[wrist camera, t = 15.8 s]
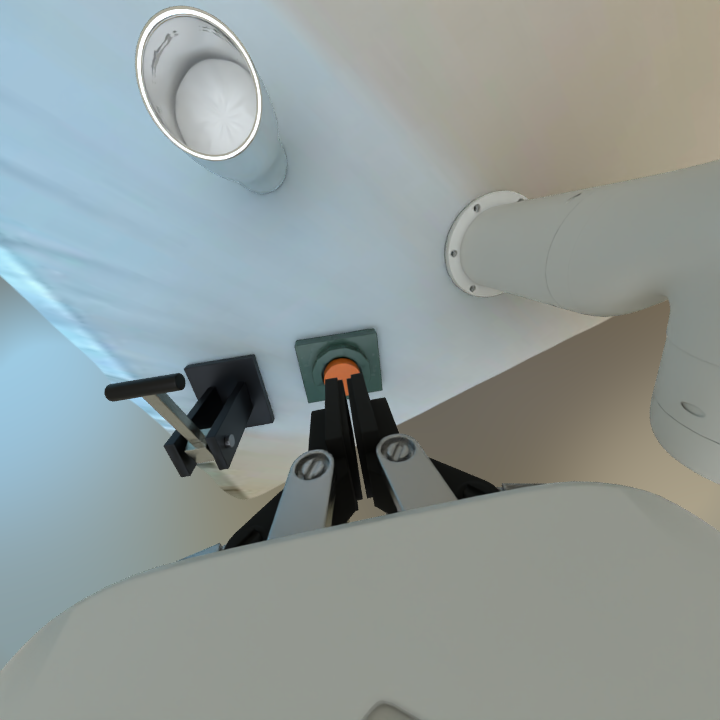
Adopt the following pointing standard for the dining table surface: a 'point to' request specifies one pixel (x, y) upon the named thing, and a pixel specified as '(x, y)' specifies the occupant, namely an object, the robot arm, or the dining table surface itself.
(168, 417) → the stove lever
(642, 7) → the dining table surface
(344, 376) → the button
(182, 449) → the lever bracket
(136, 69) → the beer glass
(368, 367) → the block
